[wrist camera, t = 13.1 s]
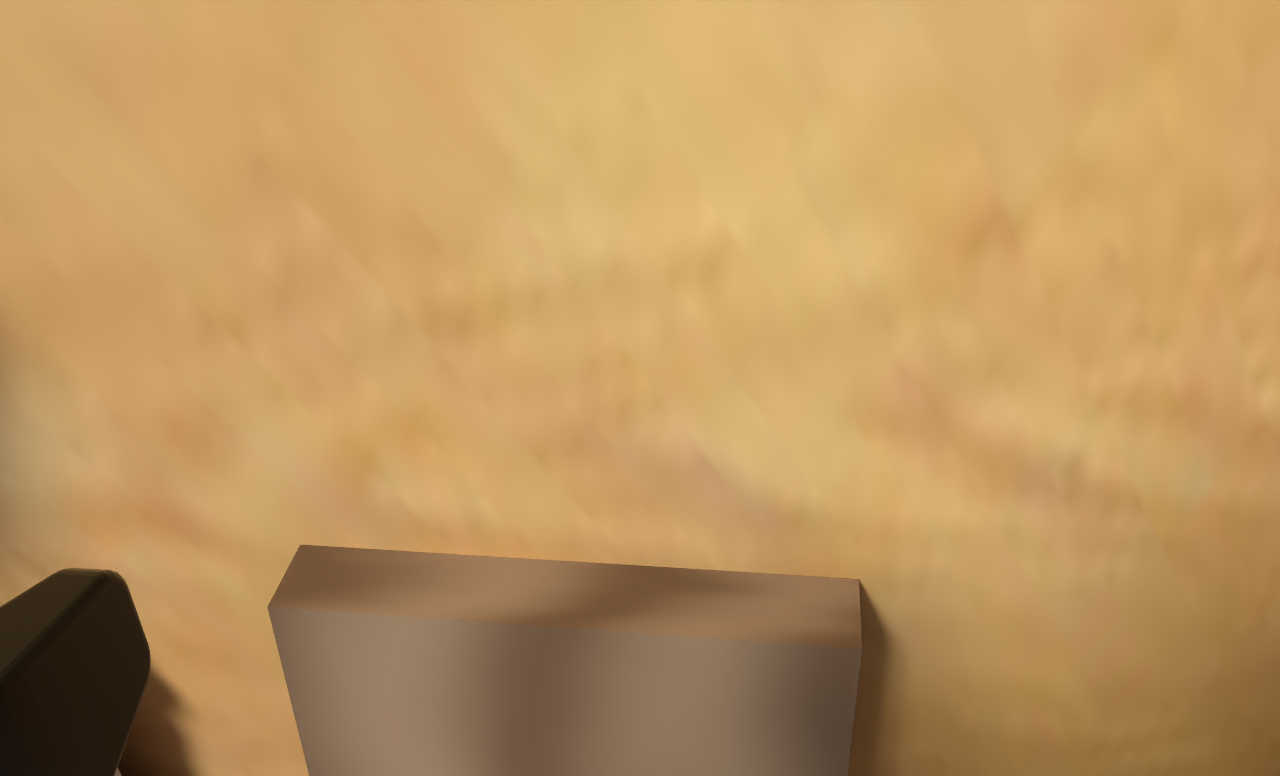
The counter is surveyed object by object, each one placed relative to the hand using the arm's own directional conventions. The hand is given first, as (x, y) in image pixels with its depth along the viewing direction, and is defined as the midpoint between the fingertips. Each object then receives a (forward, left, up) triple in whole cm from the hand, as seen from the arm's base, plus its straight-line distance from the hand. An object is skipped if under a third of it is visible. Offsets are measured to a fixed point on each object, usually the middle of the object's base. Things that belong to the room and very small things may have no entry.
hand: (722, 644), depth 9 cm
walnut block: (+4, +17, -14) cm, 22 cm away
